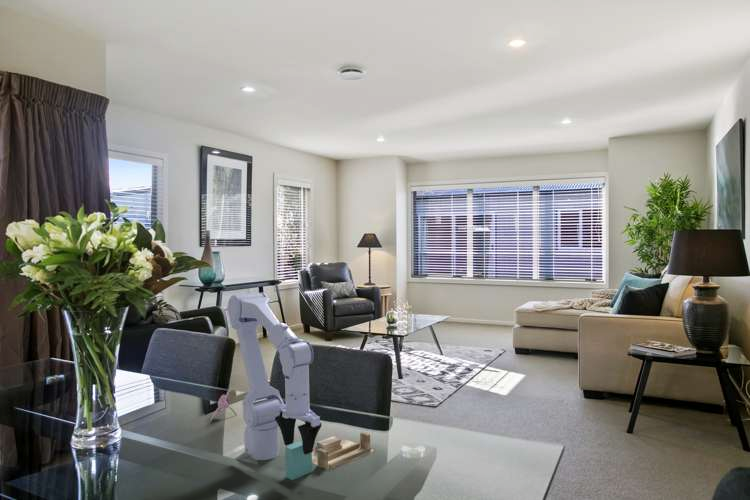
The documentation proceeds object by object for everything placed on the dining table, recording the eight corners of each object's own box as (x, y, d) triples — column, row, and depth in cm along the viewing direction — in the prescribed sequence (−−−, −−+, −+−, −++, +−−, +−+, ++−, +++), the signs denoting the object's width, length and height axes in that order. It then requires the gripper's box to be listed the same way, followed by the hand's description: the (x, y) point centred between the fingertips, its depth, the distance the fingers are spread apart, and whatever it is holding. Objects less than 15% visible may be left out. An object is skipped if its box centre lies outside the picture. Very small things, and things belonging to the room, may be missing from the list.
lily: (225, 411, 178) (210, 389, 176) (253, 400, 175) (238, 378, 172) (210, 435, 167) (194, 412, 164) (240, 423, 164) (224, 400, 161)
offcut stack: (314, 452, 137) (314, 443, 137) (333, 444, 142) (333, 435, 142) (323, 456, 135) (323, 447, 135) (342, 448, 139) (342, 439, 139)
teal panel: (286, 479, 123) (285, 446, 123) (306, 471, 128) (305, 439, 128) (292, 482, 122) (291, 449, 122) (312, 474, 126) (311, 441, 126)
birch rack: (299, 461, 135) (298, 441, 135) (344, 443, 146) (344, 424, 146) (329, 475, 126) (328, 454, 126) (374, 455, 138) (374, 435, 138)
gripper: (266, 390, 127) (267, 445, 127) (302, 403, 116) (303, 462, 117) (289, 384, 132) (290, 436, 132) (326, 395, 121) (327, 453, 122)
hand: (298, 448), depth 125 cm, fingers open, 7 cm apart
